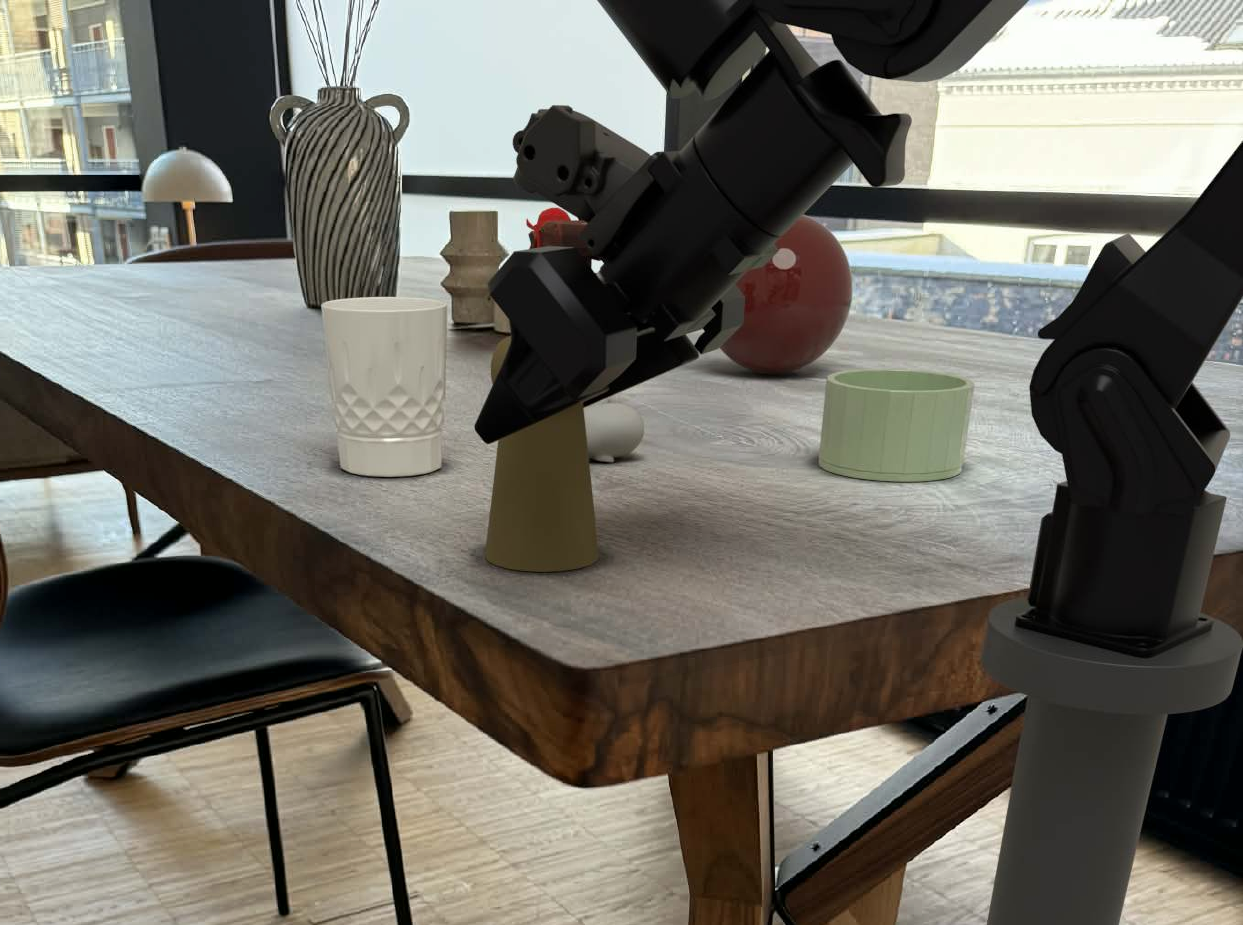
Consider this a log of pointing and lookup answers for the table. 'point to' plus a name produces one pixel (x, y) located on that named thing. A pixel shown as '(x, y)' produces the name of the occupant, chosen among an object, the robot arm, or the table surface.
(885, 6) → the robot arm
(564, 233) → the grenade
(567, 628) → the table surface
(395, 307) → the white cup
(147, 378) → the table surface
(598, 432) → the pale two-lobed sculpture
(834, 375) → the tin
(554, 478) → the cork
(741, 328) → the round-bottom flask
